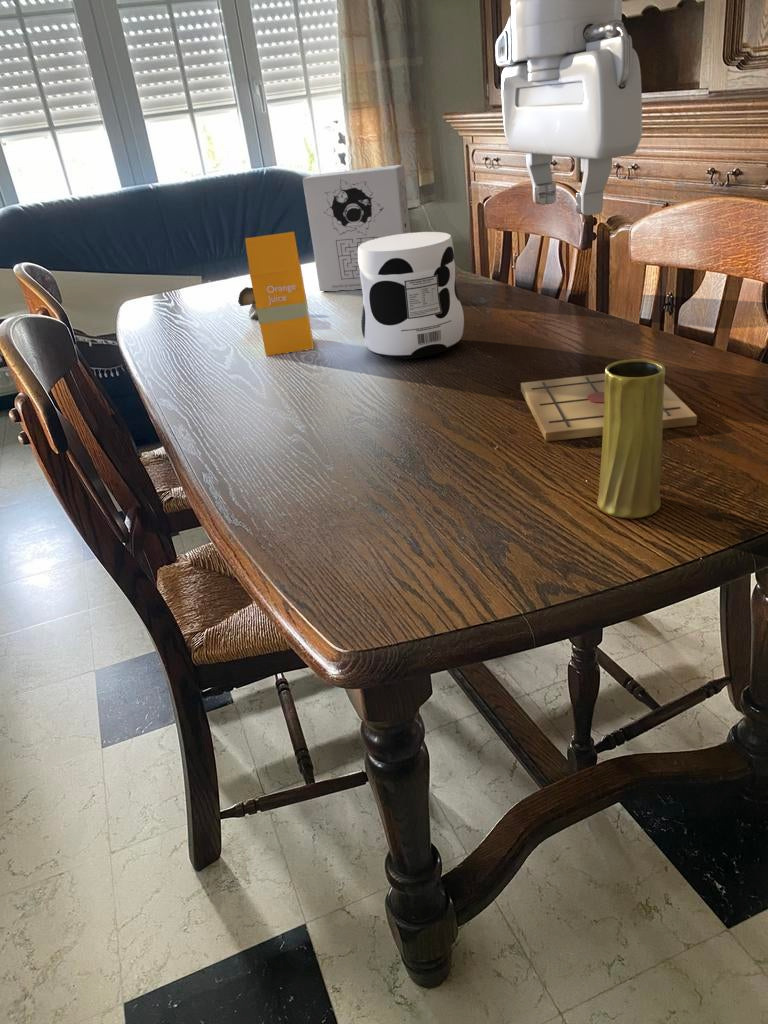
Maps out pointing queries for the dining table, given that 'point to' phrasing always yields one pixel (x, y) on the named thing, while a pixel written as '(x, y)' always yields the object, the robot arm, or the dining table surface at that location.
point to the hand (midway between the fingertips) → (565, 208)
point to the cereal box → (352, 218)
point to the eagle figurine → (248, 301)
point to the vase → (632, 439)
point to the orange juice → (279, 293)
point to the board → (586, 407)
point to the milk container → (409, 295)
